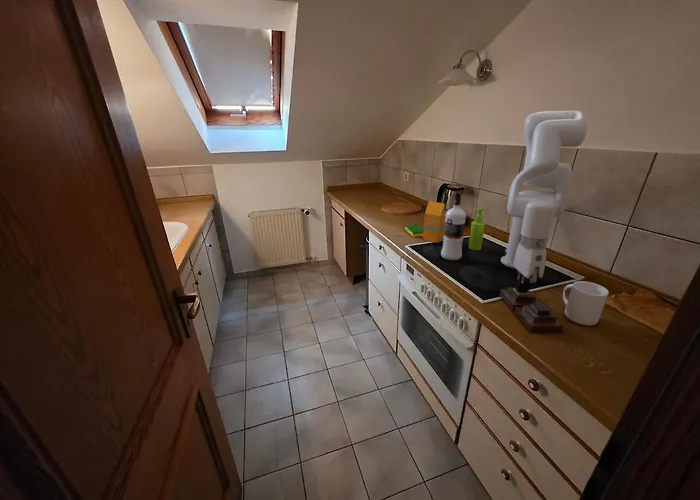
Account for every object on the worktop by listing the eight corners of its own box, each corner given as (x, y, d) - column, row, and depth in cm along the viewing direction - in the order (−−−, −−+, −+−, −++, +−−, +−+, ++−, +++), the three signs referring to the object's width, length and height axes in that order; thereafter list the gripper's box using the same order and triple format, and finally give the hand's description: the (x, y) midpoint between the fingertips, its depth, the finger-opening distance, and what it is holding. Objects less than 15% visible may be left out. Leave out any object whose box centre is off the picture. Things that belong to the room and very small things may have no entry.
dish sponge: (416, 228, 176) (416, 224, 175) (425, 236, 163) (425, 232, 163) (404, 229, 175) (405, 225, 174) (413, 237, 162) (413, 233, 162)
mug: (570, 302, 101) (579, 274, 97) (605, 324, 90) (616, 293, 86) (548, 306, 99) (556, 277, 95) (581, 328, 88) (591, 297, 84)
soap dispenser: (485, 250, 143) (491, 210, 135) (470, 250, 144) (475, 210, 136) (480, 245, 149) (486, 206, 141) (466, 245, 149) (471, 206, 141)
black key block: (514, 312, 97) (516, 302, 95) (542, 312, 96) (545, 301, 95) (531, 332, 88) (533, 321, 86) (562, 331, 87) (565, 320, 86)
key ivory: (512, 292, 103) (513, 288, 102) (523, 292, 103) (524, 288, 102) (517, 298, 99) (518, 294, 99) (528, 298, 99) (529, 293, 99)
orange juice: (429, 235, 164) (432, 199, 157) (444, 238, 159) (448, 202, 151) (422, 239, 159) (425, 202, 151) (438, 243, 154) (441, 205, 146)
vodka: (466, 258, 135) (474, 193, 124) (450, 262, 132) (457, 195, 120) (451, 251, 143) (458, 189, 131) (436, 255, 140) (442, 191, 128)
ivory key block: (499, 294, 107) (501, 284, 105) (524, 294, 107) (526, 284, 105) (512, 310, 98) (515, 300, 96) (540, 310, 97) (543, 299, 96)
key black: (530, 308, 92) (531, 304, 92) (542, 308, 92) (543, 303, 92) (536, 315, 89) (538, 310, 88) (549, 315, 89) (550, 310, 88)
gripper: (560, 249, 86) (545, 303, 93) (532, 232, 100) (521, 280, 107) (533, 250, 86) (521, 303, 93) (509, 233, 100) (500, 280, 107)
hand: (521, 291), depth 100 cm, fingers closed
